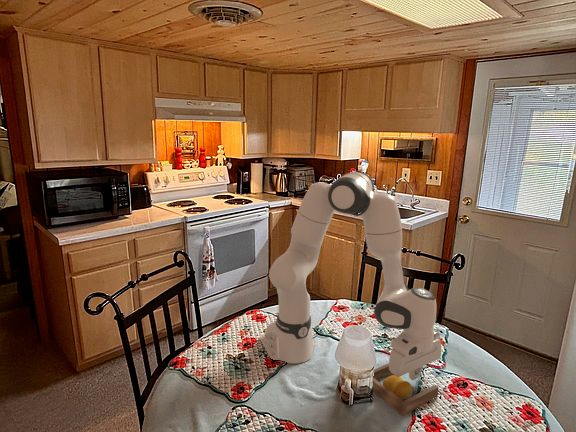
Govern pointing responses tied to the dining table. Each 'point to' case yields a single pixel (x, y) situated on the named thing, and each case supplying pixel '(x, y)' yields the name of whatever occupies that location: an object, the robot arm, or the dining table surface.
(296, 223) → the robot arm
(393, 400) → the tray
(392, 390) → the bread roll
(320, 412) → the dining table surface
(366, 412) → the dining table surface
